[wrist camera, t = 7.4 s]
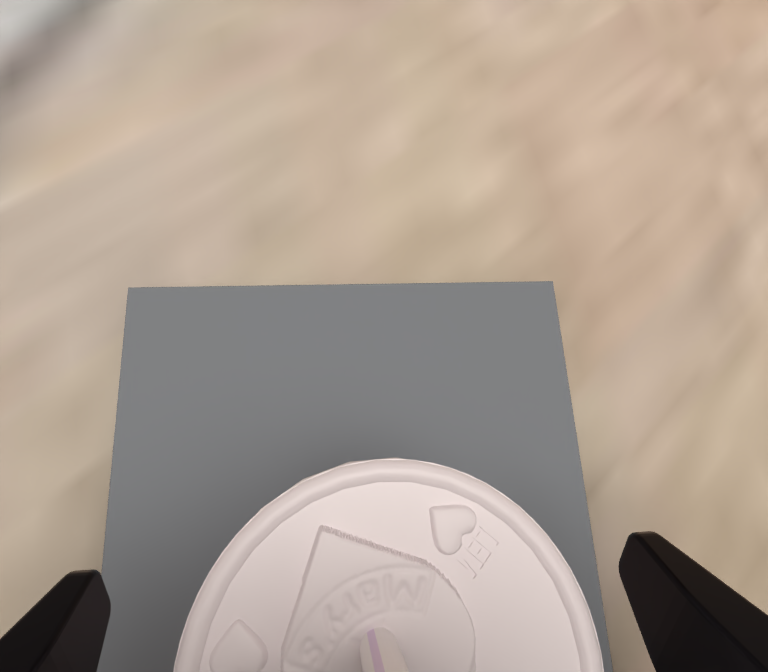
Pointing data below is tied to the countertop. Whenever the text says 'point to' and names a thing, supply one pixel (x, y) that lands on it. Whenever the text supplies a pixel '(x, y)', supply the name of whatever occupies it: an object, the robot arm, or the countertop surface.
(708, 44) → the countertop surface
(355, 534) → the smoothie
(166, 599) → the slate mat
